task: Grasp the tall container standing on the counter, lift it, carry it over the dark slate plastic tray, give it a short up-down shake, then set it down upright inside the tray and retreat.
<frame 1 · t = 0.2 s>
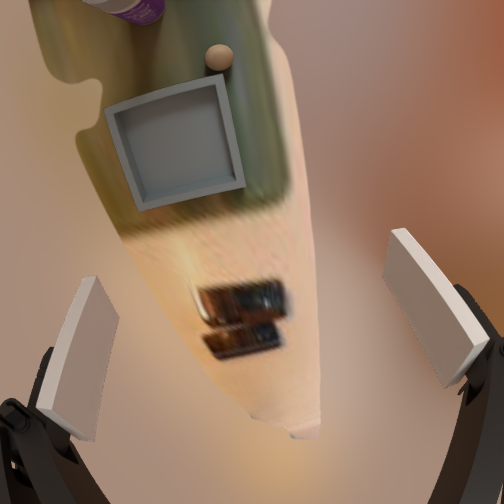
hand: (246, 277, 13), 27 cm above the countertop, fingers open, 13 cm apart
tray: (178, 139, 35), on the countertop
ball: (219, 57, 29), on the countertop
container: (146, 8, 25), on the countertop
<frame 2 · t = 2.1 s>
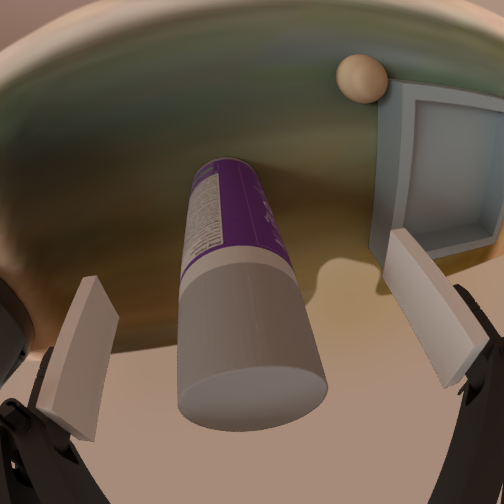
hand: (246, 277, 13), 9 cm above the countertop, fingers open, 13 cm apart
tray: (444, 166, 21), on the countertop
ball: (350, 76, 16), on the countertop
container: (225, 188, 20), on the countertop
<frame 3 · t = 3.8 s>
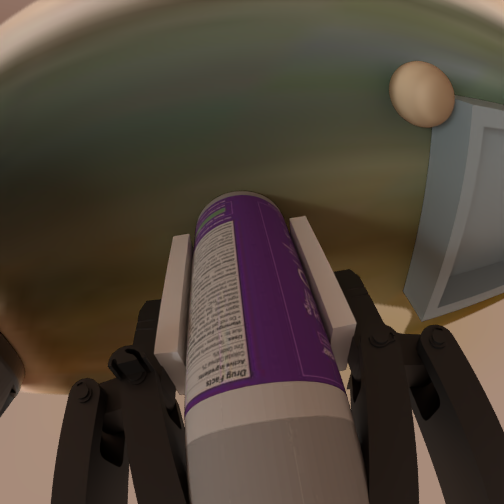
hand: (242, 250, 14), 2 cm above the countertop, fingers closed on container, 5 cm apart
tray: (492, 198, 16), on the countertop
ball: (404, 88, 12), on the countertop
container: (240, 229, 16), on the countertop, touching gripper
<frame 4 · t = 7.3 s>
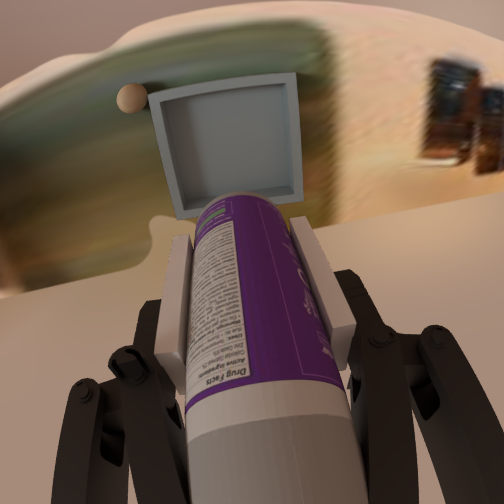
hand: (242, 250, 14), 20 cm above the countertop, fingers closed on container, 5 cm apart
tray: (230, 140, 31), on the countertop
ball: (136, 96, 27), on the countertop
container: (240, 229, 16), point 18 cm above the countertop, touching gripper
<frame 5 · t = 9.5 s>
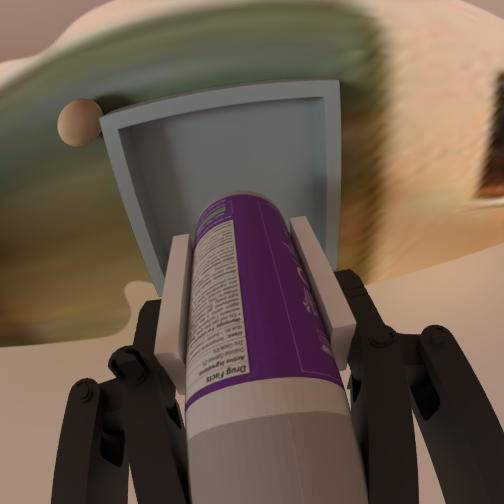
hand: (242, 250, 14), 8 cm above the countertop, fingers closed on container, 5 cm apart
tray: (231, 182, 21), on the countertop
ball: (89, 117, 17), on the countertop
container: (240, 228, 16), point 6 cm above the countertop, touching gripper
when the fingers open (4 cm above the countertop, at t = 11.1 s): container drops 1 cm, resting on tray.
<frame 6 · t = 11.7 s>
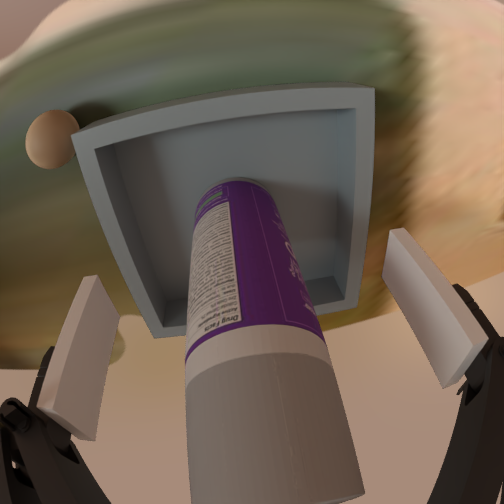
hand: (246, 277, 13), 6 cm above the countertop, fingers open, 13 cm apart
tray: (237, 208, 18), on the countertop
ball: (65, 131, 14), on the countertop
container: (235, 212, 18), resting on tray
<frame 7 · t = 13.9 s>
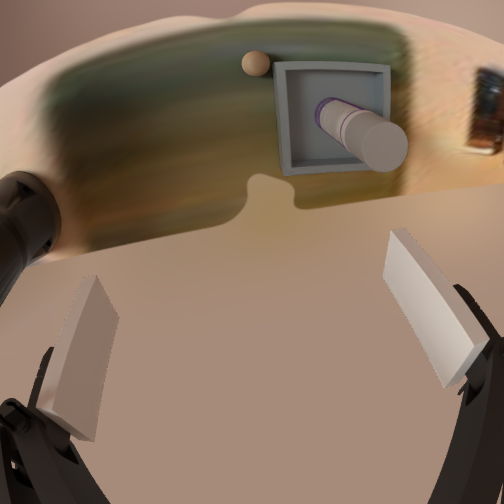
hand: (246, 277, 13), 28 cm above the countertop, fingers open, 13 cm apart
tray: (330, 113, 35), on the countertop
ball: (254, 63, 31), on the countertop
container: (330, 114, 34), resting on tray
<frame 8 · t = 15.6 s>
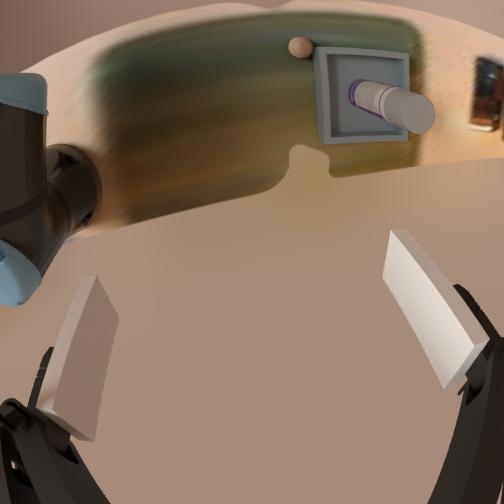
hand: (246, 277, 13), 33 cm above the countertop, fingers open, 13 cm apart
tray: (359, 93, 38), on the countertop
ball: (297, 47, 34), on the countertop
container: (360, 93, 38), resting on tray
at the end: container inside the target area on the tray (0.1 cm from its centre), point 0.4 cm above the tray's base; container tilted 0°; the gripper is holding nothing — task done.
